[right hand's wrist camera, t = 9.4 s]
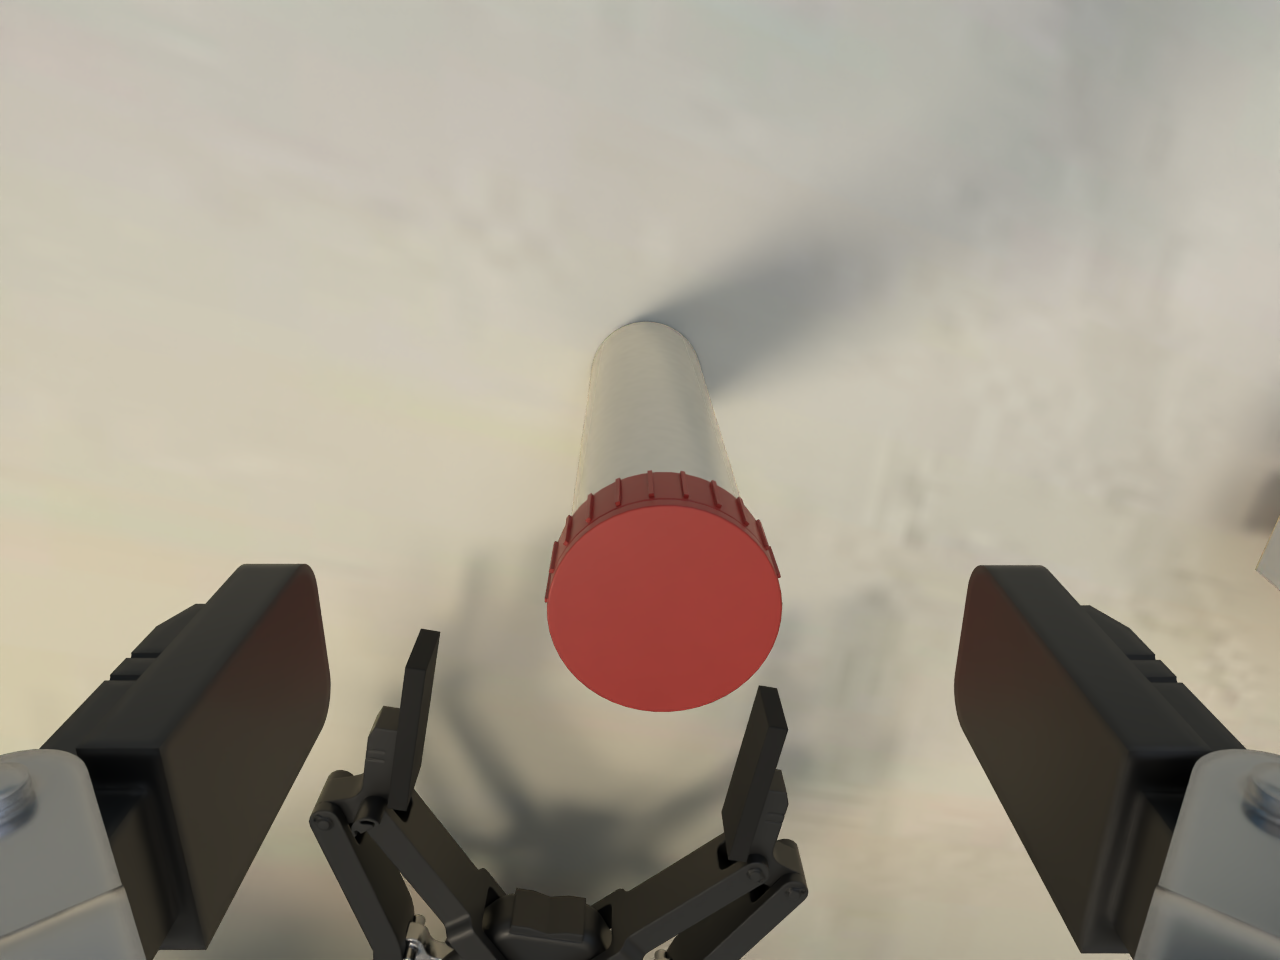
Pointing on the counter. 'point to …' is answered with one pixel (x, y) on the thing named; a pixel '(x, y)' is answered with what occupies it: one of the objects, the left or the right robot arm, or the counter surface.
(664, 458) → the jar
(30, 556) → the counter surface
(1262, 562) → the toy
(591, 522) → the lid
